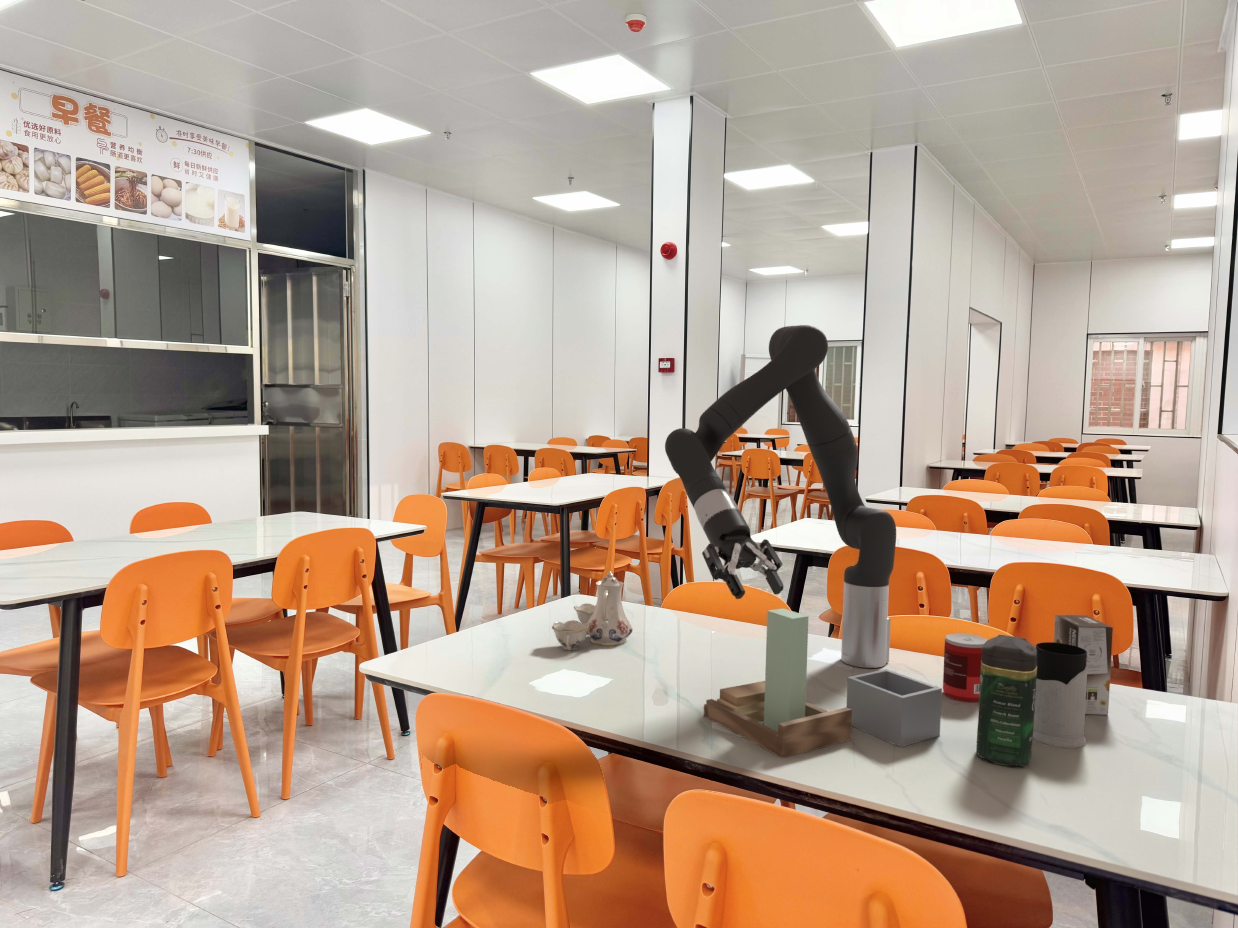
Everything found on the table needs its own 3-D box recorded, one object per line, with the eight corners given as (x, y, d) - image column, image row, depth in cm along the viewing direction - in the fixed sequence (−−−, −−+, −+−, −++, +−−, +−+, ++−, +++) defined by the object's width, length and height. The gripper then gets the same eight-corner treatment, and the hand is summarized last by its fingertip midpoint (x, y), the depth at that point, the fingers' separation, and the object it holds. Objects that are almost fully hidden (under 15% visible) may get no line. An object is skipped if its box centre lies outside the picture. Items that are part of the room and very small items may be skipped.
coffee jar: (1030, 772, 123) (1036, 650, 122) (973, 760, 127) (978, 642, 125) (1034, 750, 131) (1040, 635, 130) (980, 739, 135) (985, 628, 134)
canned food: (986, 692, 159) (989, 636, 158) (985, 705, 151) (988, 646, 151) (943, 685, 162) (946, 630, 161) (941, 698, 155) (943, 640, 154)
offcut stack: (766, 704, 149) (767, 678, 149) (786, 714, 145) (787, 687, 144) (715, 716, 143) (715, 689, 143) (734, 726, 139) (735, 698, 138)
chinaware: (575, 628, 206) (569, 563, 205) (640, 625, 203) (635, 559, 202) (549, 662, 178) (542, 586, 177) (625, 659, 176) (618, 582, 175)
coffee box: (1110, 715, 147) (1115, 627, 146) (1074, 714, 147) (1078, 626, 146) (1083, 697, 156) (1087, 614, 155) (1049, 696, 157) (1053, 613, 156)
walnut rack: (768, 701, 151) (769, 674, 151) (850, 739, 134) (851, 709, 134) (703, 715, 144) (704, 687, 143) (782, 757, 126) (783, 726, 126)
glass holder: (1078, 752, 131) (1083, 659, 130) (986, 727, 140) (990, 641, 139) (1092, 736, 137) (1097, 648, 136) (1003, 714, 147) (1007, 631, 146)
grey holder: (884, 713, 146) (886, 668, 146) (939, 735, 136) (941, 688, 136) (845, 722, 141) (847, 677, 141) (900, 746, 131) (902, 697, 131)
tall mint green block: (779, 723, 140) (783, 608, 139) (804, 735, 135) (808, 616, 134) (763, 727, 139) (767, 610, 137) (788, 739, 133) (792, 618, 132)
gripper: (698, 508, 144) (738, 585, 135) (761, 505, 152) (803, 578, 142) (680, 534, 149) (717, 610, 140) (741, 530, 156) (781, 602, 147)
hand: (760, 594), depth 141 cm, fingers open, 8 cm apart
